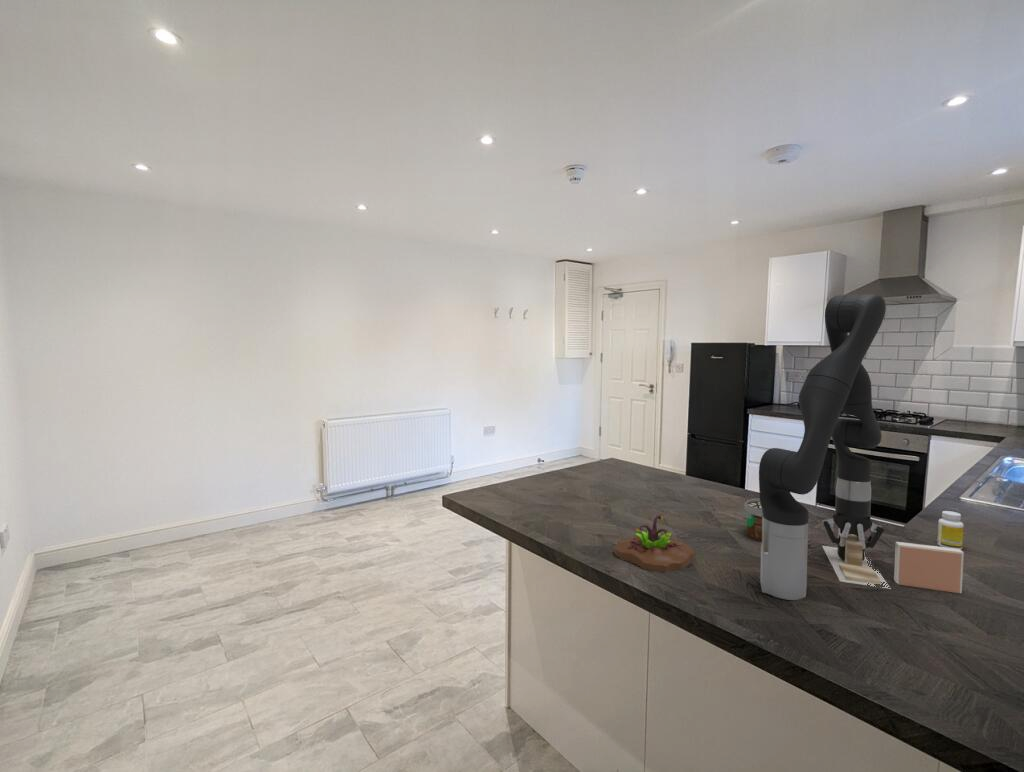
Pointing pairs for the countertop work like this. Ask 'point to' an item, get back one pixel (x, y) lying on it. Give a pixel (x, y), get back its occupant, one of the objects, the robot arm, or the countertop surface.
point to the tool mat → (835, 561)
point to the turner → (856, 563)
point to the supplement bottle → (950, 530)
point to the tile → (928, 567)
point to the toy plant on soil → (655, 550)
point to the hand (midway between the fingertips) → (850, 559)
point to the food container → (754, 518)
